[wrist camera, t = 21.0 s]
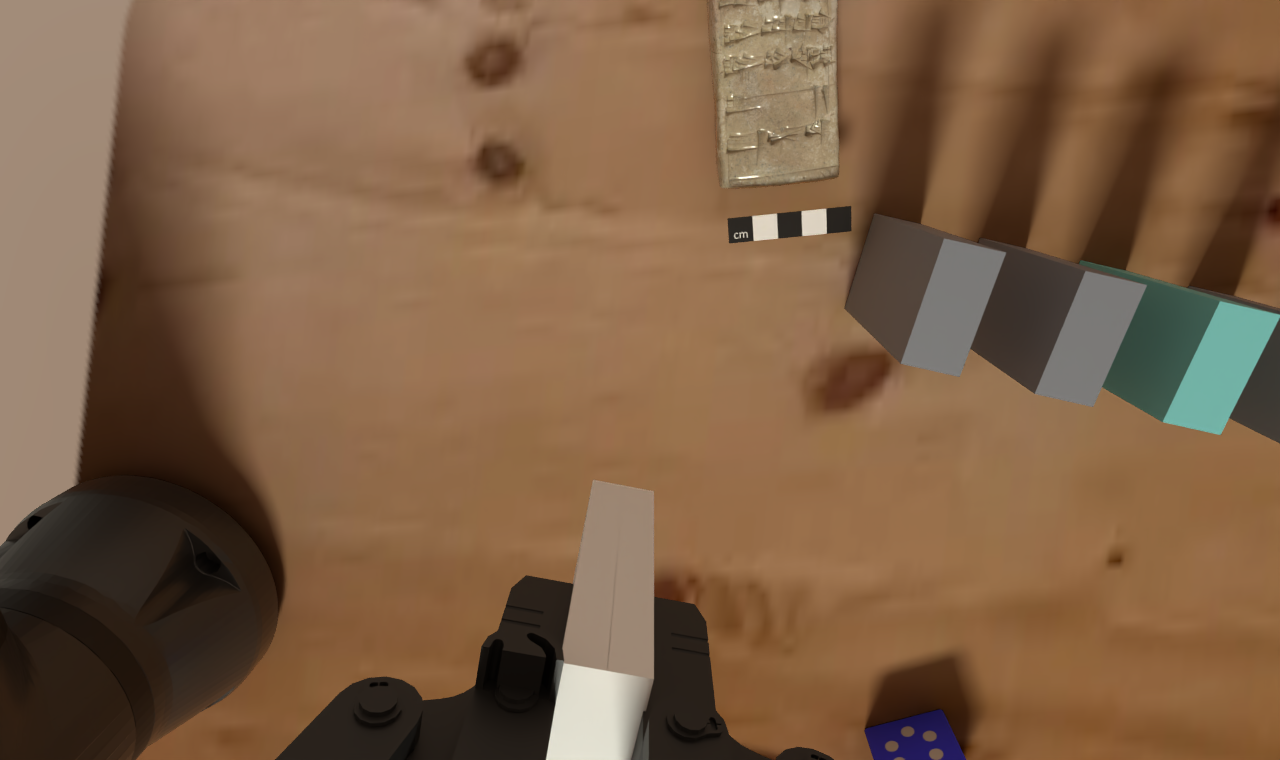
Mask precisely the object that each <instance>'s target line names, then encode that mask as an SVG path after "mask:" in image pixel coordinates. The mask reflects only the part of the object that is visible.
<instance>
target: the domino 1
mask: <svg viewBox="0 0 1280 760" xmlns="http://www.w3.org/2000/svg"><path fill="white" fill-rule="evenodd" d="M1005 255H1006V252H1003V251H1000V250H997V249H994V248H991V247H988V246H985V245H982V244H979V243H976V242H973V241H970V240H967V239H964V238H961V237H958V236H955V235H952V234H949V233H946V232H943V231H940V230H937V229H934V228H931V227H928V226H925V225H922V224H919V223H914V222H910V221H906V220H901V219H897V218H893V217H888V216H884V215H880V214H875V213H874V216H873V220H872V223H871V226H870V229H869V232H868V235H867V239H866V242H865V245H864V248H863V251H862V255H861V258H860V261H859V264H858V267H857V270H856V274H855V277H854V280H853V283H852V286H851V290H850V293H849V296H848V299H847V302H846V306H845V310H846V311H847V312H848V313H850V314H851V315H852V316H853V317H854V318H855V319H856V320H857V321H858V322H859V323H860V324H861V325H862V326H863V327H864V328H865V329H866V330H867V331H868V332H869V333H870V334H871V335H872V336H873V337H874V338H875V339H876V340H877V341H878V342H879V343H880V344H881V345H882V346H883V347H884V348H885V349H886V350H887V351H888V352H889V353H890V354H891V355H892V356H893V357H894V358H895V359H897V360H898V361H899V362H900V363H901V364H905V365H909V366H913V367H918V368H922V369H927V370H931V371H936V372H940V373H945V374H949V375H954V376H958V377H960V374H961V372H962V369H963V366H964V364H965V361H966V358H967V356H968V353H969V350H970V348H971V345H972V342H973V340H974V337H975V334H976V332H977V329H978V326H979V324H980V321H981V318H982V316H983V313H984V311H985V308H986V305H987V303H988V300H989V297H990V295H991V292H992V289H993V287H994V284H995V281H996V279H997V276H998V273H999V271H1000V268H1001V265H1002V263H1003V260H1004V257H1005Z"/></svg>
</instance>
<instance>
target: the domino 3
mask: <svg viewBox="0 0 1280 760" xmlns="http://www.w3.org/2000/svg"><path fill="white" fill-rule="evenodd" d="M1079 264H1080V265H1083V266H1086V267H1089V268H1093V269H1096V270H1099V271H1103V272H1106V273H1109V274H1112V275H1116V276H1119V277H1122V278H1126V279H1129V280H1132V281H1135V282H1139V283H1142V284H1145V285H1147V286H1146V289H1145V291H1144V293H1143V295H1142V298H1141V300H1140V302H1139V304H1138V307H1137V309H1136V311H1135V313H1134V316H1133V318H1132V320H1131V323H1130V325H1129V327H1128V329H1127V332H1126V334H1125V336H1124V338H1123V341H1122V343H1121V345H1120V347H1119V350H1118V352H1117V354H1116V356H1115V359H1114V361H1113V363H1112V365H1111V368H1110V370H1109V372H1108V374H1107V377H1106V379H1105V381H1104V383H1103V386H1102V387H1103V388H1104V389H1106V390H1108V391H1110V392H1111V393H1113V394H1115V395H1117V396H1118V397H1120V398H1122V399H1123V400H1125V401H1127V402H1129V403H1130V404H1132V405H1134V406H1136V407H1137V408H1139V409H1141V410H1143V411H1144V412H1146V413H1148V414H1150V415H1151V416H1153V417H1155V418H1156V419H1158V420H1160V421H1162V422H1165V423H1169V424H1174V425H1178V426H1183V427H1187V428H1192V429H1196V430H1201V431H1205V432H1210V433H1214V434H1219V435H1221V433H1222V431H1223V429H1224V427H1225V425H1226V423H1227V421H1228V419H1229V417H1230V415H1231V413H1232V411H1233V409H1234V407H1235V405H1236V403H1237V401H1238V399H1239V397H1240V395H1241V393H1242V391H1243V389H1244V387H1245V385H1246V383H1247V381H1248V379H1249V377H1250V375H1251V373H1252V371H1253V369H1254V368H1255V366H1256V364H1257V362H1258V360H1259V358H1260V356H1261V354H1262V352H1263V350H1264V348H1265V346H1266V344H1267V342H1268V340H1269V338H1270V336H1271V334H1272V332H1273V330H1274V328H1275V326H1276V324H1277V322H1278V320H1279V318H1280V315H1279V314H1276V313H1272V312H1269V311H1265V310H1262V309H1258V308H1255V307H1251V306H1248V305H1244V304H1241V303H1237V302H1234V301H1230V300H1227V299H1223V298H1220V297H1216V296H1213V295H1209V294H1206V293H1202V292H1199V291H1195V290H1192V289H1188V288H1185V287H1181V286H1178V285H1175V284H1171V283H1168V282H1164V281H1161V280H1157V279H1154V278H1150V277H1147V276H1143V275H1140V274H1136V273H1133V272H1129V271H1126V270H1121V269H1117V268H1113V267H1108V266H1104V265H1099V264H1095V263H1091V262H1086V261H1082V260H1080V263H1079Z"/></svg>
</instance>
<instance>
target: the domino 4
mask: <svg viewBox="0 0 1280 760" xmlns="http://www.w3.org/2000/svg"><path fill="white" fill-rule="evenodd" d="M1188 289H1192V290H1195V291H1199V292H1202V293H1206V294H1209V295H1213V296H1216V297H1220V298H1223V299H1227V300H1230V301H1234V302H1237V303H1241V304H1244V305H1248V306H1251V307H1255V308H1258V309H1262V310H1265V311H1269V312H1272V313H1276V314H1279V315H1280V309H1279V308H1276V307H1272V306H1268V305H1265V304H1261V303H1257V302H1254V301H1250V300H1247V299H1243V298H1239V297H1236V296H1232V295H1227V294H1223V293H1219V292H1214V291H1210V290H1206V289H1201V288H1197V287H1193V286H1189V287H1188ZM1229 418H1230V419H1232V420H1234V421H1236V422H1238V423H1240V424H1242V425H1244V426H1246V427H1248V428H1250V429H1252V430H1254V431H1256V432H1258V433H1260V434H1262V435H1264V436H1266V437H1268V438H1270V439H1272V440H1274V441H1276V442H1278V443H1280V318H1279V320H1278V322H1277V324H1276V326H1275V328H1274V330H1273V332H1272V334H1271V336H1270V338H1269V340H1268V342H1267V344H1266V346H1265V348H1264V350H1263V352H1262V354H1261V356H1260V358H1259V360H1258V362H1257V364H1256V366H1255V368H1254V369H1253V371H1252V373H1251V375H1250V377H1249V379H1248V381H1247V383H1246V385H1245V387H1244V389H1243V391H1242V393H1241V395H1240V397H1239V399H1238V401H1237V403H1236V405H1235V407H1234V409H1233V411H1232V413H1231V415H1230V417H1229Z"/></svg>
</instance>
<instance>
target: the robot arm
mask: <svg viewBox="0 0 1280 760" xmlns="http://www.w3.org/2000/svg"><path fill="white" fill-rule="evenodd" d="M277 620H278V598H277V592H276V587H275V583H274V580H273V577H272V574H271V571H270V569H269V567H268V565H267V562H266V560H265V558H264V557H263V555H262V553H261V552H260V550H259V548H258V547H257V546H256V544H255V543H254V541H253V540H252V539H251V537H250V536H249V535H248V534H247V533H246V532H245V530H244V529H243V528H242V527H241V526H240V525H239V524H238V523H237V522H236V521H235V520H234V519H233V518H231V517H230V516H229V515H228V514H227V513H225V512H224V511H223V510H222V509H220V508H219V507H218V506H216V505H215V504H213V503H212V502H210V501H209V500H207V499H205V498H204V497H202V496H200V495H198V494H196V493H194V492H192V491H190V490H188V489H186V488H183V487H181V486H178V485H175V484H172V483H169V482H166V481H162V480H158V479H154V478H148V477H141V476H128V475H121V476H107V477H101V478H96V479H93V480H89V481H86V482H83V483H81V484H78V485H76V486H74V487H72V488H70V489H69V490H67V491H65V492H63V493H62V494H60V495H58V496H56V497H55V498H53V499H51V500H50V501H48V502H46V503H44V504H42V505H41V506H39V507H38V508H36V509H35V510H34V511H32V512H31V513H30V514H29V515H28V516H27V517H25V518H24V519H23V520H22V521H21V522H20V523H19V524H18V525H17V526H16V528H15V529H14V530H13V531H12V533H11V534H10V535H9V536H8V538H7V540H6V541H5V542H4V543H3V544H2V545H1V546H0V760H136V759H137V757H138V756H139V755H140V754H141V753H142V752H143V751H144V750H145V749H146V748H147V747H148V746H149V745H151V744H153V743H154V742H156V741H157V740H159V739H160V738H162V737H163V736H165V735H166V734H168V733H169V732H171V731H173V730H174V729H176V728H177V727H179V726H180V725H182V724H183V723H185V722H186V721H188V720H189V719H191V718H192V717H194V716H195V715H197V714H198V713H199V712H201V711H203V710H205V709H207V708H209V707H211V706H212V705H214V704H216V703H218V702H220V701H221V700H223V699H224V698H226V697H227V696H228V695H229V694H231V693H232V692H233V691H234V690H235V689H236V688H237V687H238V686H239V685H240V684H241V683H242V682H243V681H244V680H245V679H246V677H247V676H248V675H249V674H250V672H251V671H252V670H253V669H254V667H255V666H256V665H257V664H258V662H259V661H260V660H261V659H262V657H263V656H264V654H265V653H266V652H267V650H268V648H269V646H270V644H271V642H272V640H273V637H274V634H275V631H276V626H277ZM275 760H771V759H769V758H766V757H764V756H762V755H760V754H757V753H755V752H753V751H751V750H749V749H748V748H746V747H744V746H742V745H741V744H739V743H738V742H737V741H736V740H734V739H733V738H732V737H731V736H730V735H729V734H728V730H727V727H726V724H725V722H724V720H723V718H722V717H721V716H720V715H719V714H718V713H717V711H716V709H715V699H714V690H713V681H712V672H711V663H710V657H709V644H708V635H707V626H706V621H705V619H704V618H703V616H702V615H701V613H700V612H699V610H698V609H697V607H696V606H695V604H690V603H685V602H679V601H674V600H668V599H663V598H657V597H654V491H650V490H645V489H639V488H634V487H629V486H623V485H618V484H613V483H608V482H602V481H597V480H593V483H592V488H591V493H590V498H589V503H588V508H587V513H586V519H585V524H584V529H583V534H582V539H581V544H580V549H579V554H578V559H577V564H576V569H575V574H574V580H573V584H571V583H565V582H560V581H554V580H549V579H543V578H538V577H532V576H527V575H526V576H525V577H524V578H523V579H521V580H520V581H519V582H518V583H517V584H516V585H515V586H513V587H512V588H511V591H510V595H509V598H508V601H507V604H506V608H505V610H504V613H503V616H502V620H501V623H500V626H499V629H498V631H497V632H495V633H493V634H492V635H490V636H488V638H487V639H486V641H485V642H484V643H483V645H482V647H481V653H480V660H479V666H478V672H477V679H476V685H475V686H474V687H472V688H471V689H469V690H467V691H466V692H464V693H462V694H459V695H456V696H454V697H449V698H443V699H435V700H422V697H421V696H420V694H419V693H418V692H417V690H416V689H415V687H413V686H411V685H410V684H408V683H406V682H405V681H403V680H400V679H395V678H390V677H375V678H367V679H364V680H362V681H359V682H356V683H353V684H351V685H350V686H349V687H347V688H346V689H345V690H343V691H342V692H340V693H339V694H338V695H337V696H336V697H335V698H334V699H333V700H332V701H331V703H330V704H329V705H328V706H327V707H326V708H325V709H324V710H323V711H322V712H321V713H320V714H319V715H318V716H317V717H316V718H315V719H314V720H313V721H312V722H311V723H310V724H309V725H308V726H307V727H306V728H305V729H304V730H303V731H302V733H301V734H300V735H299V736H298V737H297V738H296V739H295V740H294V741H293V742H292V743H291V744H290V745H289V746H288V747H287V748H286V749H285V750H284V751H283V752H282V753H281V754H280V755H279V756H278V757H277V758H276V759H275ZM776 760H834V759H832V758H831V757H830V756H828V755H826V754H823V753H821V752H819V751H816V750H814V749H809V748H802V747H796V748H791V749H786V750H784V751H783V752H782V753H781V754H780V755H779V756H777V758H776Z"/></svg>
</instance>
